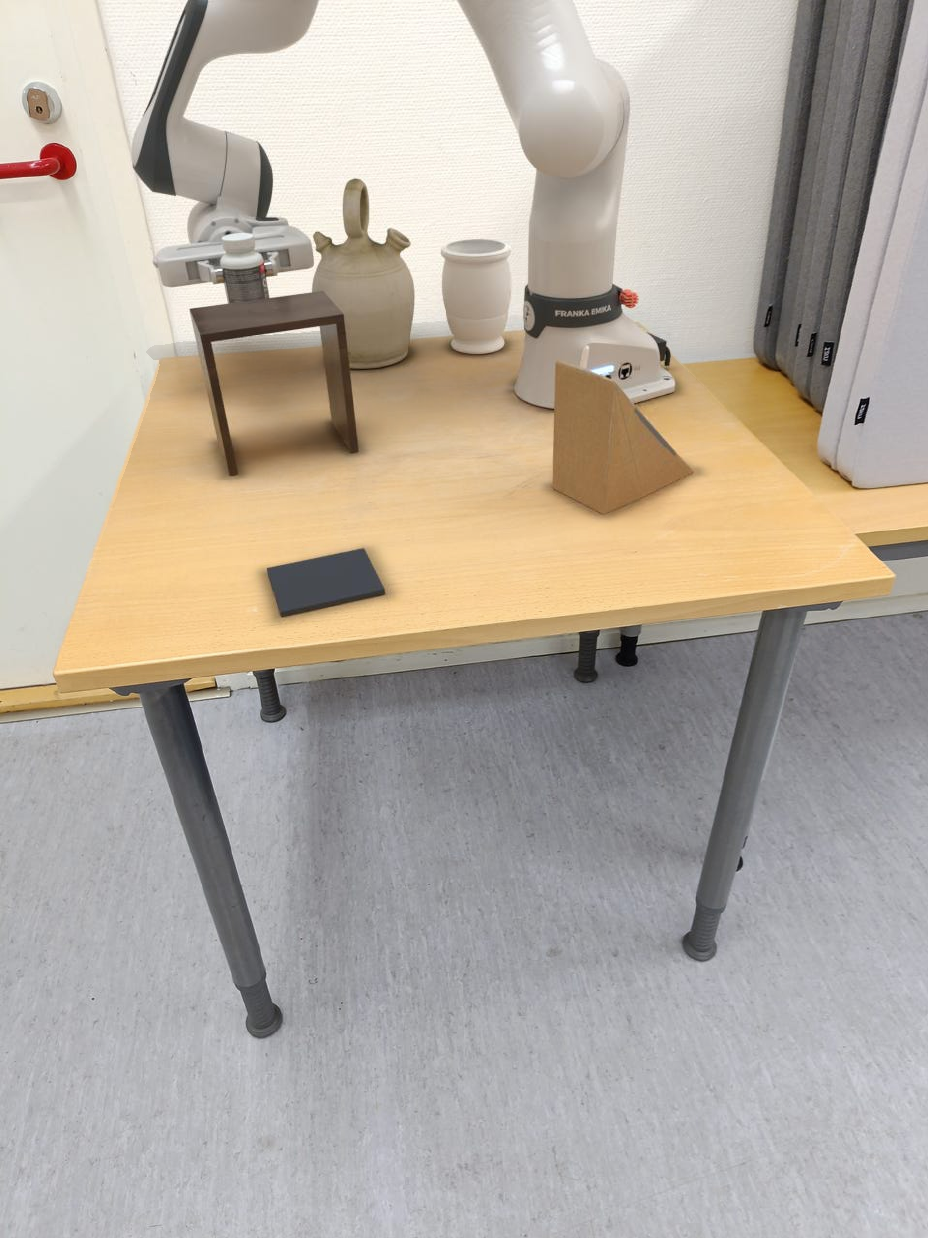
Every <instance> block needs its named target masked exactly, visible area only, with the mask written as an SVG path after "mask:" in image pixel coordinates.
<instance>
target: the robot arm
mask: <svg viewBox="0 0 928 1238" xmlns="http://www.w3.org/2000/svg"><path fill="white" fill-rule="evenodd" d="M319 1H320V0H187V1H186V3H185V5H184V8H183V10H182V13H181V15H180V18H179V20H178V22H177V25H176V27H175V29H174V32H173V35H172V38H171V41H170V43H169V46H168V49H167V52H166V54H165V57H164V60H163V63H162V66H161V69H160V70H159V71H160V72H159V74H158V77H157V80H156V82H155V85H154V88H153V91H152V93H151V96H150V99H149V101H148V103H147V105H146V108H145V110H144V112H143V114H142V117H141V119H140V121H139V122H138V125H137V127H136V129H135V131H134V134H133V137H132V142H131V160H132V168H133V171H134V172H135V173H136V175H137V176H138V178H139V179H140V180H141V181H142V182H143V184H144V185H145V186H146V187H147V188H148V189H149V191H151V192H152V193H156V194H162V195H167V196H172V197H177V196H178V197H181V198H185V199H189V200H193V201H195V202H196V201H197V202H196V204H194V205H193V207H192V208H191V209H190V211H189V213H188V218H187V223H186V225H187V226H186V231H187V232H186V233H187V238H188V241H189V243H185V244H177V245H170V246H164V247H162V248H160V249H159V250H158V251H157V253H156V256H154V257H153V258H152V264H153V266H154V268H155V269H158V272H159V276H160V280H161V284H162V286H163V287H166V288H178V287H179V288H180V287H185V286H192V285H193V286H194V285H200V284H206V283H207V284H208V283H212V285H220V284H224V283H225V280H224V277H223V270H222V268H221V265H220V260H221V258H222V256H223V255H225V254H226V251H224V250H223V245H222V237H223V236H226V235H229V234H235V233H250V234H253V235H254V239H255V243H256V245H255V248H254V251H255V252H258V253H259V254H261V256H262V257H263V261H264V267H265V273H266V278H270V277H278V274H279V273H287V272H295V271H302V270H303V271H304V270H309V269H311V268H313V267H314V265H315V256H314V250H313V245H312V241H311V239H310V237H309V236H308V235H307V234H306V233H305V232H303V231H302V230H301V229H299V228H298V227H296V226H292V225H289V221H288V219H287V218H285V217H281V216H279V217H277V216H268V213H269V210H270V206H271V202H272V196H273V190H274V188H273V187H274V174H273V168H272V163H271V162H270V159H269V156H268V155H267V152H266V151H265V149H264V147H263V146H262V145H261V143H260V142H259V141H258V140H255V139H252V138H250V137H245V136H243V135H240V134H237V133H234V132H230V131H227V130H222V129H219V128H216V127H213V126H209V125H206V124H202V123H199V122H197V121H194V120H191V119H188V118H186V117H185V116H184V115H185V113H186V111H187V108H188V106H189V103H190V100H191V97H192V95H193V92H194V90H195V88H196V84H197V82H198V80H199V77H200V75H201V72H202V71H203V70H204V69H205V68H204V67H206V66H207V65H208V64H210V63H211V62H212V61H213V62H214V61H215V60H218V59H221V58H224V57H229V56H235V55H257V54H258V55H263V54H264V55H266V54H272V53H277V52H281V51H283V50H286V49H289V48H290V47H293V46H294V45H295V44H297V43H298V42H300V40H301V39H303V38H304V37H305V36H306V34H307V33H308V32H309V29H310V27H311V25H312V23H313V21H314V18H315V14H316V11H317V8H318V5H319ZM456 2H457V3H458V5H459V7H460V9H461V11H462V13H463V14H464V16H465V19H466V20H467V22H468V24H469V25H470V27H471V29H472V31H473V33H474V35H475V36H476V38H477V40H478V42H479V44H480V46H481V47H482V50H483V52H484V54H485V56H486V58H487V61H488V64H489V65H490V68H491V71H492V73H493V76H494V78H495V82H496V84H497V86H498V89H499V92H500V94H501V97H502V100H503V102H504V104H505V106H506V109H507V112H508V114H509V116H510V119H511V121H512V123H513V125H514V128H515V131H516V132H517V134H518V138H519V143H520V146H521V149H522V152H523V154H524V156H525V158H526V159H527V161H528V163H530V165H531V166H533V168H534V169H536V170H535V177H534V188H533V195H532V201H531V208H530V214H529V219H528V237H527V238H528V240H527V241H528V245H527V283H526V285H525V286H524V290H523V291H524V293H523V305H522V306H523V308H522V320H523V321H522V322H523V329H524V340H523V341H524V342H523V348H522V355H521V359H520V365H519V370H518V375H517V377H516V381H515V384H514V387H513V391H514V393H515V395H516V396H517V397H518V398H520V399H521V400H523V401H524V402H527V403H529V404H531V405H534V406H538V407H542V408H546V409H553V410H554V401H555V364H556V362H557V361H558V360H559V361H563V362H566V363H569V364H572V365H575V366H579V367H582V368H585V369H588V370H590V371H593V372H595V373H597V374H600V375H602V376H604V377H607V378H609V379H612V380H613V381H615V382H616V383H617V384H618V386H619V387H620V388H621V389H622V390H623V392H624V393H625V394H626V395H627V396H628V398H629V399H630V400H631V401H632V402H633V404H634V405H635V404H637V403H640V402H644V401H648V400H652V399H654V398H658V397H661V396H664V395H669V394H672V393H674V392H675V391H676V381H675V378H674V377H673V375H672V374H671V373H670V372H669V371H667V370H666V368H664V367H669V366H670V365H671V357H672V353H671V350H670V348H669V347H668V346H667V344H668V343H667V342H668V341H667V340H665V339H663V338H661V337H659V336H657V335H655V334H652V333H650V332H648V331H647V330H645V329H644V328H642V327H641V326H640V325H639V324H637V323H636V322H635V321H634V320H633V319H632V318H630V317H629V316H628V315H627V314H625V313H624V312H623V307H622V305H623V306H625V307H626V308H628V309H633V308H635V307H636V306H637V304H638V303H639V295H638V293H637V292H635V291H632V290H631V289H627V288H626V289H623V288H621V287H619V285H616V284H614V283H613V281H614V266H615V253H616V239H617V228H618V226H617V225H618V216H619V209H620V202H621V193H622V186H623V180H624V179H623V177H624V171H625V163H626V162H625V161H626V152H627V142H628V135H629V125H630V114H631V99H630V93H629V89H628V86H627V84H626V80H625V79H624V78H623V76H622V75H621V73H620V71H618V70H617V68H615V67H614V66H613V65H612V64H610V63H609V62H607V61H605V60H603V59H600V58H597V57H596V54H595V52H594V50H593V47H592V46H591V43H590V40H589V37H588V36H587V33H586V31H585V28H584V26H583V23H582V21H581V18H580V15H579V13H578V10H577V8H576V5H575V2H574V0H456ZM661 362H664V367H663V366H661Z"/></svg>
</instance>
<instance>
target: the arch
mask: <svg viewBox="0 0 928 1238" xmlns="http://www.w3.org/2000/svg"><path fill="white" fill-rule="evenodd" d="M188 310H189V314H190V319H191V324H192V328H193V333H194V334H193V335H194V338H195V343H196V347H197V352H198V357H199V363H200V366H201V371H202V375H203V376H202V377H203V379H204V380H203V381H204V385H205V389H206V393H207V399H208V403H209V408H210V412H211V418H212V422H213V427H214V432H215V435H216V441H217V444H218V448H219V449H220V450H219V451H220V453H221V456H222V458H223V461H224V464H225V467H226V471H227V472H228V475H229V476H230V477H231V476H237V475H239V472H238V466H237V461H236V457H235V452H234V446H233V443H232V438H231V432H230V428H229V423H228V418H227V413H226V408H225V403H224V398H223V393H222V388H221V383H220V379H219V374H218V369H217V363H216V358H215V354H214V350H213V344H212V343H214V342H221V341H227V340H228V341H229V340H235V339H242V338H248V337H256V336H262V335H270V334H275V333H276V334H277V333H283V332H289V331H296V330H297V331H298V330H304V329H311V328H318V327H319V326H320V327H319V334H320V343H321V348H322V356H323V364H324V365H323V366H324V372H325V380H326V388H327V397H328V403H329V412H330V420H331V424H332V425H333V427H334V429H335V430H336V432H337V433H338V435H339V436H340V438H341V440H342V441H343V443H344V444H345V446H346V447H347V449H348V451H349V452H350V454H353V453H359V450H360V449H359V442H358V431H357V423H356V412H355V404H354V396H353V394H354V393H353V387H352V386H353V385H352V378H351V377H352V376H351V368H350V367H349V357H348V348H347V339H346V330H345V323H344V322H345V321H344V314H343V313H342V312H341V311H340V309H339V308H338V307H337V306H336V305H335V304H334V303H333V302H332V300H331V299H330V298H329V297H328V296H327V295H326V294H325V293H324V291H318V292H312V291H311V292H303V293H297V294H290V295H289V294H288V295H281V296H273V297H269V298H266V299H258V300H251V301H243V302H236V303H228V302H227V303H222V304H215V305H207V306H198V307H192V308H189V309H188Z"/></svg>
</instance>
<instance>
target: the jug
mask: <svg viewBox="0 0 928 1238" xmlns="http://www.w3.org/2000/svg"><path fill="white" fill-rule="evenodd" d="M342 220H343V228H344V231H345V234H346V236H347V238H346V239H345V240H344V242H343V243H339V244H334V243H333V238H331V237H330V236H326V235H325V234H323V233H322V232H320V231H315V232H314V233H313V235H312V238H313V242H314V244H315V251H316V252H317V253H319V254H320V260H319V262H318V264H317V266H316V269H315V271H314V274H313V277H312V284H311V292H318V291H324V293H325V294H326V295H327V296H328V297H329V298H330V299H331V300H332V302H333V303H334V304H335V305H336V306H337V307H338V308H339V309H340V311H341V312H342V313H343V314H344V321H345V322H344V323H345V330H346V339H347V348H348V357H349V367H350V369H352V370H354V369H355V370H363V369H364V370H367V369H369V370H371V369H380V368H383V367H389V366H393V365H395V364H398V363H400V362H401V361H403V360H404V359H405V358H406V357H407V356H408V353H409V346H410V341H411V332H412V326H413V320H414V312H415V285H414V279H413V276H412V273H411V271H410V269H409V267H408V265H407V263H406V262H405V260H404V259H403V257H402V256H401V253H402V252H403V251H405V250H406V249H407V248H409V247H411V245H412V243H411V241H410V239H409V238H408V237H407V236H406V235H405V234H403V233H402V232H401V231H399V230H397V229H396V228H392V227H390V228H388V229H387V230H386V237H385V242H383V243H381V242H377V241H375V240H373V239H372V238H371V237H370V235H369V231H368V230H369V226H370V225H369V224H370V197H369V191H368V186H367V184H366V182H364V181H363V180H362V179H361V178H355V177H354V178H352V179H349V180H348V181H347V182H346V183H345V186H344V190H343V194H342ZM318 327H319V328H320V326H318Z"/></svg>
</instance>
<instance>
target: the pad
mask: <svg viewBox="0 0 928 1238" xmlns="http://www.w3.org/2000/svg"><path fill="white" fill-rule="evenodd" d="M266 572H267V576H268V578H269V579H268V580H269V582H270V585H271V589H272V591H273V595H274V598H275V602H276V604H277V608H278V610H279V614H280V617H282V618H283V617H287V616H288V617H289V616H291V615H297V614H300V613H305V612H310V611H314V610H319V609H325V608H328V607H332V606H336V605H337V606H338V605H342V604H346V603H350V602H354V601H359V600H363V599H369V598H372V597H378V596H383V595H385V594H386V589H385V587H384V585H383V583H382V581H381V579H380V577H379V574H378V573H377V571H376V569H375V567H374V565H373V563H372V561H371V559H370V557H369V555H368V553H367V551H366V549H365V547H362V548H357V549H352V550H348V551H343V552H338V553H333V554H328V555H323V556H317V557H313V558H309V559H304V560H298V561H295V562H289V563H285V564H284V563H283V564H280V565H275V566H270V567H266Z"/></svg>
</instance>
